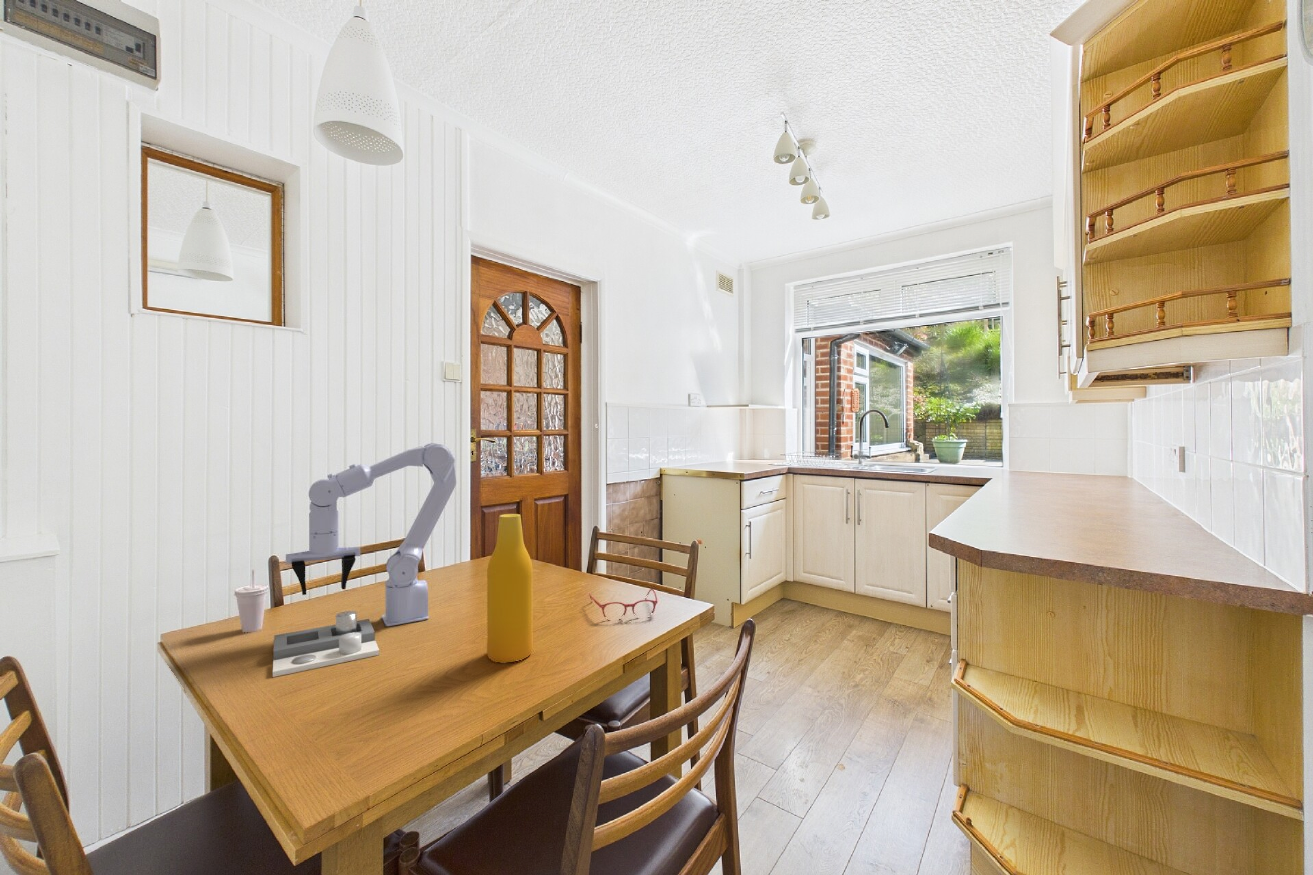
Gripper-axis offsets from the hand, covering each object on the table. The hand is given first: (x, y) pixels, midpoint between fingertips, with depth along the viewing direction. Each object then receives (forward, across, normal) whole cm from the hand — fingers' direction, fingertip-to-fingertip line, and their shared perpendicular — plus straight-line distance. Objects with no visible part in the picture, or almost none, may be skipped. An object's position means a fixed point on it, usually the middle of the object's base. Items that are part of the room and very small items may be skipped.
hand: (324, 590), depth 124 cm
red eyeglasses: (+10, -65, +26) cm, 71 cm away
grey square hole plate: (+10, 0, +9) cm, 13 cm away
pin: (+10, -4, +9) cm, 14 cm away
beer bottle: (+10, -31, +37) cm, 49 cm away
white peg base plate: (+10, +1, +18) cm, 20 cm away
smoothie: (+10, +14, -11) cm, 20 cm away
